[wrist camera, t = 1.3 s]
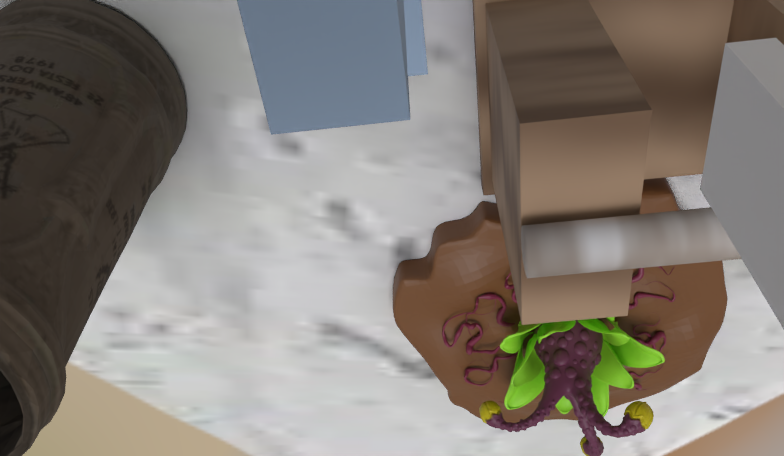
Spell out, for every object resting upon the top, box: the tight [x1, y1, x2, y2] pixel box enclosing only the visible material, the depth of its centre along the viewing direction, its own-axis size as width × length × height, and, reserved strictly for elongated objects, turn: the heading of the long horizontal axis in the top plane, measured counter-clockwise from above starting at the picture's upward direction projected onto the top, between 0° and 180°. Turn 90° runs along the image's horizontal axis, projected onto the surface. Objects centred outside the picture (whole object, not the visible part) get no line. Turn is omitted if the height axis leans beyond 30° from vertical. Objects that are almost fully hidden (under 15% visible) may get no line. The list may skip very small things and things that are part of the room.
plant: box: [393, 178, 727, 456], centre depth 43 cm, size 20×20×11 cm
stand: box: [473, 0, 784, 325], centre depth 32 cm, size 12×17×14 cm
